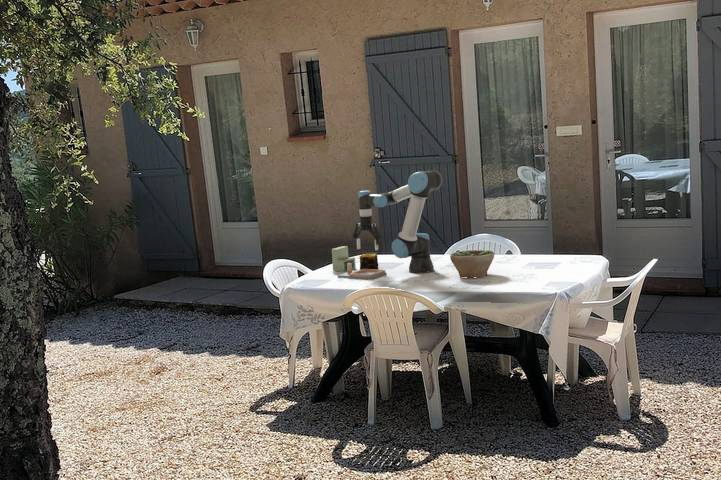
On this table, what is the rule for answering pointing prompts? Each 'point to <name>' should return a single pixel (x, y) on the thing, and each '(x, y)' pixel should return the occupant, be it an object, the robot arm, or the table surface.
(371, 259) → the candle
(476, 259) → the planter
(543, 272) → the table surface
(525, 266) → the table surface
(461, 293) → the table surface
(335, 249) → the feeder
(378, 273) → the pin board
